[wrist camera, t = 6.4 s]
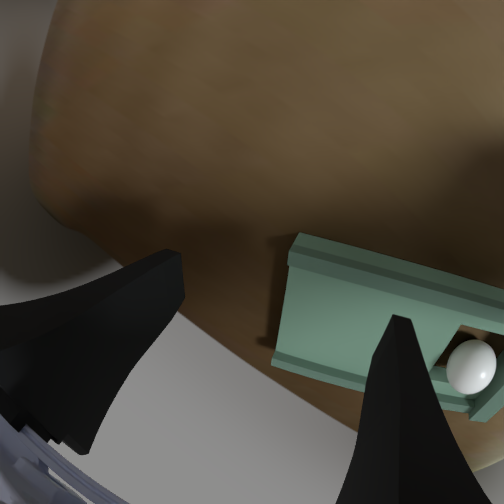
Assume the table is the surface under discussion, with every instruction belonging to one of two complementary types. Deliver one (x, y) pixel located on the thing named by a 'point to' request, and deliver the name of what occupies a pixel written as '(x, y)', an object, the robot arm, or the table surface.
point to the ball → (471, 366)
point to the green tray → (380, 317)
